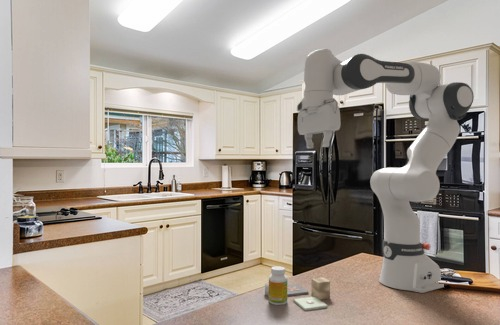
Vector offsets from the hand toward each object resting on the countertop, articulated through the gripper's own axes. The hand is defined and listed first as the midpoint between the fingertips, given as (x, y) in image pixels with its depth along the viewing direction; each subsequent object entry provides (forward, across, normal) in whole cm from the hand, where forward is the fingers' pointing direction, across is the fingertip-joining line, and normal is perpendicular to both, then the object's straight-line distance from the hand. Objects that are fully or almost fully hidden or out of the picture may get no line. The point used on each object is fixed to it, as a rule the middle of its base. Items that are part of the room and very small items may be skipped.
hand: (317, 147), depth 109 cm
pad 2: (+45, -7, +6) cm, 46 cm away
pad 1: (+45, +4, +6) cm, 46 cm away
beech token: (+45, -2, 0) cm, 45 cm away
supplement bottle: (+45, -2, +14) cm, 47 cm away
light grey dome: (+45, +4, +12) cm, 47 cm away
